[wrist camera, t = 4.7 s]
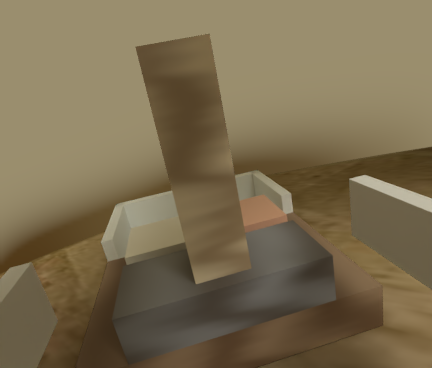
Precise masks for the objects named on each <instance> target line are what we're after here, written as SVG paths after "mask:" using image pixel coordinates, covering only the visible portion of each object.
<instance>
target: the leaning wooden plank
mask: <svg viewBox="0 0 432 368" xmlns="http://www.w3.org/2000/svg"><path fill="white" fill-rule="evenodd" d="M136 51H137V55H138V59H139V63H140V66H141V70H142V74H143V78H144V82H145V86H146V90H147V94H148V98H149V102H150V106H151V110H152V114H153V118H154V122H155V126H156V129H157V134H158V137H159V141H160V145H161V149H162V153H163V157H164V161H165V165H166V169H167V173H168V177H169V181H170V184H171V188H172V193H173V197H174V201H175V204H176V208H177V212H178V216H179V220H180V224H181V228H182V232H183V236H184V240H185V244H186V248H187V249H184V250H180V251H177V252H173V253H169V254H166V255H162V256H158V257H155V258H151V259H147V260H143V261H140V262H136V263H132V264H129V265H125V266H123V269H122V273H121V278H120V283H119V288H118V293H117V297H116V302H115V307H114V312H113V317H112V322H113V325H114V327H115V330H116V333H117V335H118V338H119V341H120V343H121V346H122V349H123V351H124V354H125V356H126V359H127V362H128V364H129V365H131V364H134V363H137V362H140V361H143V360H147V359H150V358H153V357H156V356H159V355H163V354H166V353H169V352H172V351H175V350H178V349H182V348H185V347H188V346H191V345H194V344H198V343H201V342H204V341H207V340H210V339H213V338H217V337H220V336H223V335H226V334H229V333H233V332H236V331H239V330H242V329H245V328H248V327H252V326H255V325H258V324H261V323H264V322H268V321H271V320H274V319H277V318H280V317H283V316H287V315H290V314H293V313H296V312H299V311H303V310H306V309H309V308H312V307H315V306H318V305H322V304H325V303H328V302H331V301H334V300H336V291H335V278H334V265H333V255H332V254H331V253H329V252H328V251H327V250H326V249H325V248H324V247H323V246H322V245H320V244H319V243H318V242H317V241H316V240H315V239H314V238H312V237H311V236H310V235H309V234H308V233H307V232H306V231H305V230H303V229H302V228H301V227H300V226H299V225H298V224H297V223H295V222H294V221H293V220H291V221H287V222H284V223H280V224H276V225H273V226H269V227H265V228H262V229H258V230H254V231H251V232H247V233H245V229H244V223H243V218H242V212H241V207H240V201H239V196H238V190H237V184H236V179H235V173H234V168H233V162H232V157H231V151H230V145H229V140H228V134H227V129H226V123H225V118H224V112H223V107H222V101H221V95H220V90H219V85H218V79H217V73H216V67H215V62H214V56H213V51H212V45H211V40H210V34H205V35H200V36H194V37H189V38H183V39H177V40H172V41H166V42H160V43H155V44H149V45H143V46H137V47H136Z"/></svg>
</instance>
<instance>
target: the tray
mask: <svg viewBox="0 0 432 368" xmlns="http://www.w3.org/2000/svg"><path fill="white" fill-rule="evenodd" d="M235 179H236V184H237V190H238V196H239V201H240V200H244V199H247V198H251V197H255V196H259V195H263V194H264V195H265V196H266V197H267V198H268V199H269V200H271V201H272V202H273V203H274V204H275V205H276V206H277V207H279V208H280V209H281V210H282V211H283V212H284V213H285V214H288V213H292V212H293V206H292V198H291V193H290V192H288V191H287V190H286V189H284V188H283V187H281V186H280V185H278V184H277V183H275V182H274V181H273V180H271V179H270V178H268V177H267V176H265V175H264V174H262V173H261V172H260V171H258V170H255V171H251V172H247V173H242V174H239V175H235ZM177 216H178V212H177V208H176V204H175V201H174V197H173V193H172V191H168V192H164V193H160V194H156V195H152V196H148V197H144V198H140V199H136V200H131V201H127V202H124V203H119V204H116V206H115V209H114V211H113V214H112V216H111V218H110V221H109V224H108V226H107V229H106V231H105V234H104V236H103V239H102V241H101V244H102V247H103V249H104V252H105V255H106V258H107V261H112V260H116V259H120V258H123V257H125V254H126V249H127V245H128V240H129V235H130V230H131V228H134V227H138V226H142V225H146V224H150V223H154V222H157V221H161V220H165V219H169V218H173V217H177Z"/></svg>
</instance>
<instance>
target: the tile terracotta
mask: <svg viewBox="0 0 432 368" xmlns="http://www.w3.org/2000/svg"><path fill="white" fill-rule="evenodd" d="M240 207H241V212H242V218H243V223H244V229H245V233H247V232H251V231H254V230H258V229H262V228H265V227H269V226H273V225H276V224H280V223H284V222H287V221H288V220H287V215H286V214H285V213H284V212H283V211H282V210H281V209H280V208H279V207H277V206H276V205H275V204H274V203H273V202H272V201H271V200H269V199H268V198H267V197H266V196H265V195H264V194H263V195H259V196H255V197H251V198H247V199H244V200H240Z"/></svg>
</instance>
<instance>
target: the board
mask: <svg viewBox="0 0 432 368" xmlns="http://www.w3.org/2000/svg"><path fill="white" fill-rule="evenodd" d="M286 215H287V220H288V221H291V220H293V221H294V222H295V223H297V224H298V225H299V226H300V227H301V228H302V229H303V230H305V231H306V232H307V233H308V234H309V235H310V236H311V237H312V238H314V239H315V240H316V241H317V242H318V243H319V244H320V245H322V246H323V247H324V248H325V249H326V250H327V251H328V252H329V253H331V254H332V255H333V265H334V278H335V291H336V300H334V301H331V302H328V303H325V304H322V305H318V306H315V307H312V308H309V309H306V310H303V311H299V312H296V313H293V314H290V315H287V316H283V317H280V318H277V319H274V320H271V321H268V322H264V323H261V324H258V325H255V326H252V327H248V328H245V329H242V330H239V331H236V332H233V333H229V334H226V335H223V336H220V337H217V338H213V339H210V340H207V341H204V342H201V343H198V344H194V345H191V346H188V347H185V348H182V349H178V350H175V351H172V352H169V353H166V354H163V355H159V356H156V357H153V358H150V359H147V360H143V361H140V362H137V363H134V364H131V365H129V364H128V362H127V359H126V356H125V354H124V351H123V349H122V346H121V343H120V341H119V338H118V335H117V333H116V330H115V327H114V325H113V322H112V317H113V312H114V307H115V302H116V297H117V293H118V288H119V283H120V278H121V273H122V269H123V266H125V265H127V264H126V261H125V257H123V258H120V259H116V260H112V261H108V263H107V266H106V269H105V273H104V276H103V279H102V282H101V286H100V289H99V292H98V295H97V299H96V302H95V305H94V308H93V312H92V315H91V318H90V321H89V325H88V328H87V331H86V334H85V337H84V341H83V344H82V347H81V350H80V354H79V357H78V360H77V363H76V367H75V368H256V367H259V366H262V365H265V364H268V363H271V362H274V361H277V360H280V359H283V358H286V357H289V356H292V355H295V354H298V353H301V352H304V351H307V350H310V349H313V348H316V347H319V346H322V345H325V344H328V343H331V342H334V341H337V340H340V339H343V338H346V337H349V336H352V335H355V334H358V333H361V332H364V331H367V330H370V329H373V328H376V327H379V326H382V325H383V290H382V285H381V284H380V283H379V282H378V281H376V280H375V279H374V278H373V277H372V276H370V275H369V274H368V273H367V272H366V271H364V270H363V269H362V268H361V267H359V266H358V265H357V264H356V263H355V262H353V261H352V260H351V259H350V258H348V257H347V256H346V255H345V254H344V253H342V252H341V251H340V250H339V249H338V248H336V247H335V246H334V245H333V244H331V243H330V242H329V241H328V240H327V239H325V238H324V237H323V236H322V235H320V234H319V233H318V232H317V231H316V230H314V229H313V228H312V227H311V226H310V225H308V224H307V223H306V222H305V221H303V220H302V219H301V218H300V217H299V216H297V215H296V214H295V213H294V212H292V213H288V214H286Z"/></svg>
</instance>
